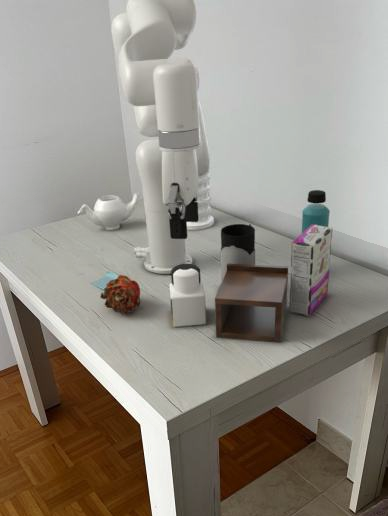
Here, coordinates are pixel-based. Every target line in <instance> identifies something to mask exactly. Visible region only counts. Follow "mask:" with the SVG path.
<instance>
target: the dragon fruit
mask: <svg viewBox="0 0 388 516" xmlns="http://www.w3.org/2000/svg"><path fill="white" fill-rule="evenodd" d="M105 286H106V287H104V288H103V292H101V293H100V299H102V300H105V302H104V307H106V308H107V309H111V310H113V311H114V312H117V313H120V314H129V313H131V312H132V311H133V310H134V309H135V308H136V307H137V308H138V307H140V305H141V297H140V296H141V289H140V285H139V283H138V282H137V281H136V280H132V279H131V278H129V277H128V276H127V275H123V274H119V275H118V276H117V278H115V279H110V280H109V281H108V282H107V283H106V285H105Z"/></svg>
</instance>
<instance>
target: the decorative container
mask: <svg viewBox="0 0 388 516" xmlns="http://www.w3.org/2000/svg"><path fill="white" fill-rule="evenodd" d="M211 164H212V162H210V168H209V170H211V168H212V165H211ZM209 170H208V172H207V173H206V174H204V175H202V176H198V192H197V202H198V218H199V220H198V222H187V231H199V230H205V229H209V228H210V227H212V226H213V225H214V223H215V219H214V216H212V215H211V212H212V207H211V199H212V198H211V195H210V191H211V185H210V179H211V176H210V171H209Z"/></svg>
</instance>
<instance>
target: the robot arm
mask: <svg viewBox="0 0 388 516" xmlns="http://www.w3.org/2000/svg"><path fill="white" fill-rule="evenodd" d="M125 9H126V10H125V12H121V13H119V14H118V15H116V16H115V17H114V18H113V19H112V22H111V27H110V28H111V38H112V44H113V47H114V51H115V54H116V55H115V56H116V57H117V60H118V62H117V63H118V74H119V80H120V84H121V88H122V91H123V95H124V98H125V100H126V101H127V102H128V104H130V105H132V106H133V107H132V108H133V113H134V118H135V124H136V128H137V129H138V132H139V133H140V134H141V135H142V136H144V137H147V138H148V137H149V139H146V140H143V141H142V142H141V143H139V144H138V146H137V147H136V148H135V149H136V150H135V162H136V168H137V170H138V176H139V180H140V183H141V184H140V185H141V190H142V197H143V206H144V214H145V215H144V216H145V226H146V233H147V245H148V246H146V247H141V246H139V247H138V246H135V247H134V250H133V252H134V255H135V257H136V258H140V259H141V258H142V259H143V258H144V261H143V265H144V268H145V270H147V271H149V272H151V273H154V274H160V275H171V270H172V269H173V268H174V267H175V266H177V265H180V264H193V258H192V256H191V255H190V254H189V253H187V249H186V240H187V238H188V230H187V222H198V220H199V218H198V202H197V192H198V176H202V175H204V174H206V173H207V172H208V170H210V169H211V168H210V163H211V154H210V148H209V141H208V135H207V131H206V124H205V119H204V118H205V117H204V113H203V108H202V104H201V101H200V99H199V89H200V74H199V70H198V68H197V67H196V65H195V64H194V62H193V61H192V60H191V59H189V58H186V57H176V58H171V56H173V53H174V52H175V51H179V50H182V49H184V48H185V47H186V46H187V44H188V42H189V40H190V38H191V37H192V34H193V32H194V30H195V27H196V22H197V10H196V9H197V8H196V4H195V1H194V0H127V3H126V8H125ZM209 168H210V169H209Z"/></svg>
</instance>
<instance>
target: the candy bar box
mask: <svg viewBox="0 0 388 516" xmlns="http://www.w3.org/2000/svg"><path fill="white" fill-rule="evenodd" d="M301 233H302V232H301ZM301 233H300V234H299V235H298V236H297V237H296V238H295V239H294V240H293V241H292V242H291V253H290V254H291V256H290V257H291V258H290V289H289V312H290V313H293V314H297V315H302V316H306V317H310V316H311V315H312V314H314V312H315V310H316V309H317V308H318V307H319V306H320V305H321V303H322V302H323V301H324V300H325V298H327V296H328V294H329V293H328V292H329V281H330V280H329V278H330V267H331V253H332V252H331V251H332V239H333V227H332V226H328V227H327V226H321V225H311V226H310V227H309V228H308V229H307V230H305V231H304V232H303V233H302V234H301Z"/></svg>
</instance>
